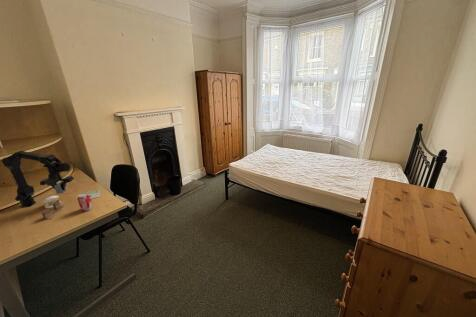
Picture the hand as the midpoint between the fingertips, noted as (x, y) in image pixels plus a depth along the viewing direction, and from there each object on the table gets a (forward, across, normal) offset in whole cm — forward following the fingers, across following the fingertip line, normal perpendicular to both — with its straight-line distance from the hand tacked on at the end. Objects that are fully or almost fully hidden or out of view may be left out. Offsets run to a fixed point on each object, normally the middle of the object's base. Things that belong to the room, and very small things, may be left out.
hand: (60, 190), depth 147 cm
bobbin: (+11, -8, -1) cm, 14 cm away
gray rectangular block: (+2, 0, 0) cm, 2 cm away
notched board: (+11, -1, -13) cm, 17 cm away
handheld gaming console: (+12, +15, +8) cm, 21 cm away
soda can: (+11, +21, -14) cm, 28 cm away
